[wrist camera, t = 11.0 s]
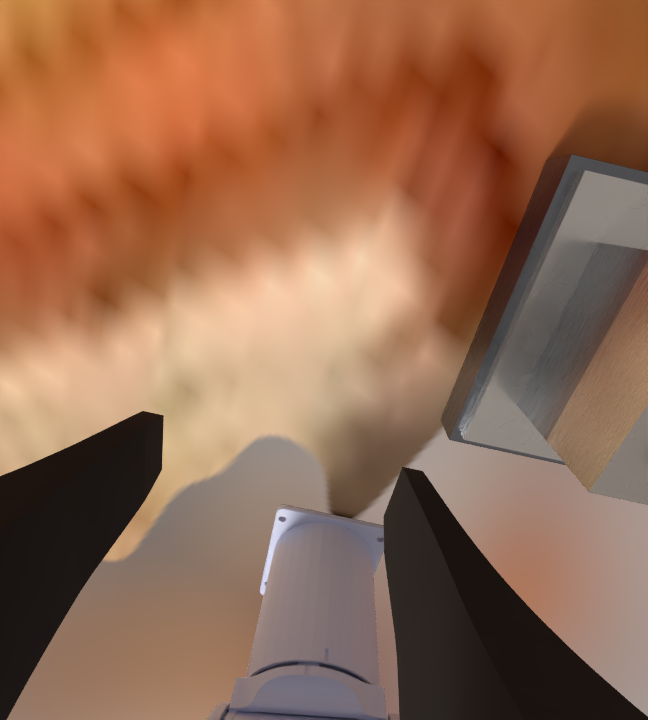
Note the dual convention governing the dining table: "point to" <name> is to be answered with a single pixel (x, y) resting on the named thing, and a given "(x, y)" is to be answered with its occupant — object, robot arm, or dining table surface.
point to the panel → (541, 295)
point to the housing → (599, 377)
